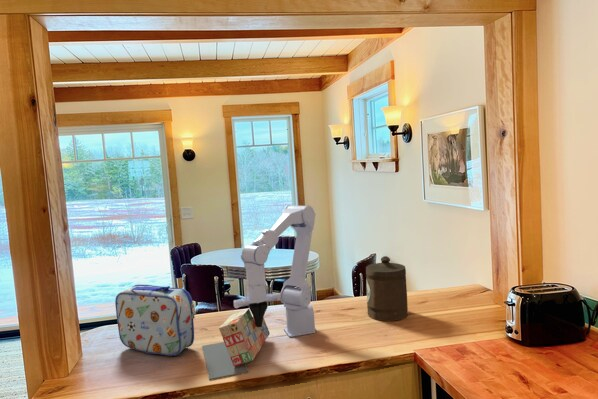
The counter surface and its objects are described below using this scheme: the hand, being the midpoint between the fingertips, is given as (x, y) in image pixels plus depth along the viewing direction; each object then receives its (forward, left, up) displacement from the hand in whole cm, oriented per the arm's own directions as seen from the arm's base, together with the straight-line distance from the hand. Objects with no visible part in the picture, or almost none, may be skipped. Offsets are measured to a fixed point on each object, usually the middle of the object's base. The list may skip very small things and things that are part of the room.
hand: (258, 326), depth 138 cm
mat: (+11, 0, -8) cm, 14 cm away
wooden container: (-52, -13, -9) cm, 54 cm away
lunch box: (+30, -16, -9) cm, 36 cm away
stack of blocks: (+2, 0, -7) cm, 8 cm away
